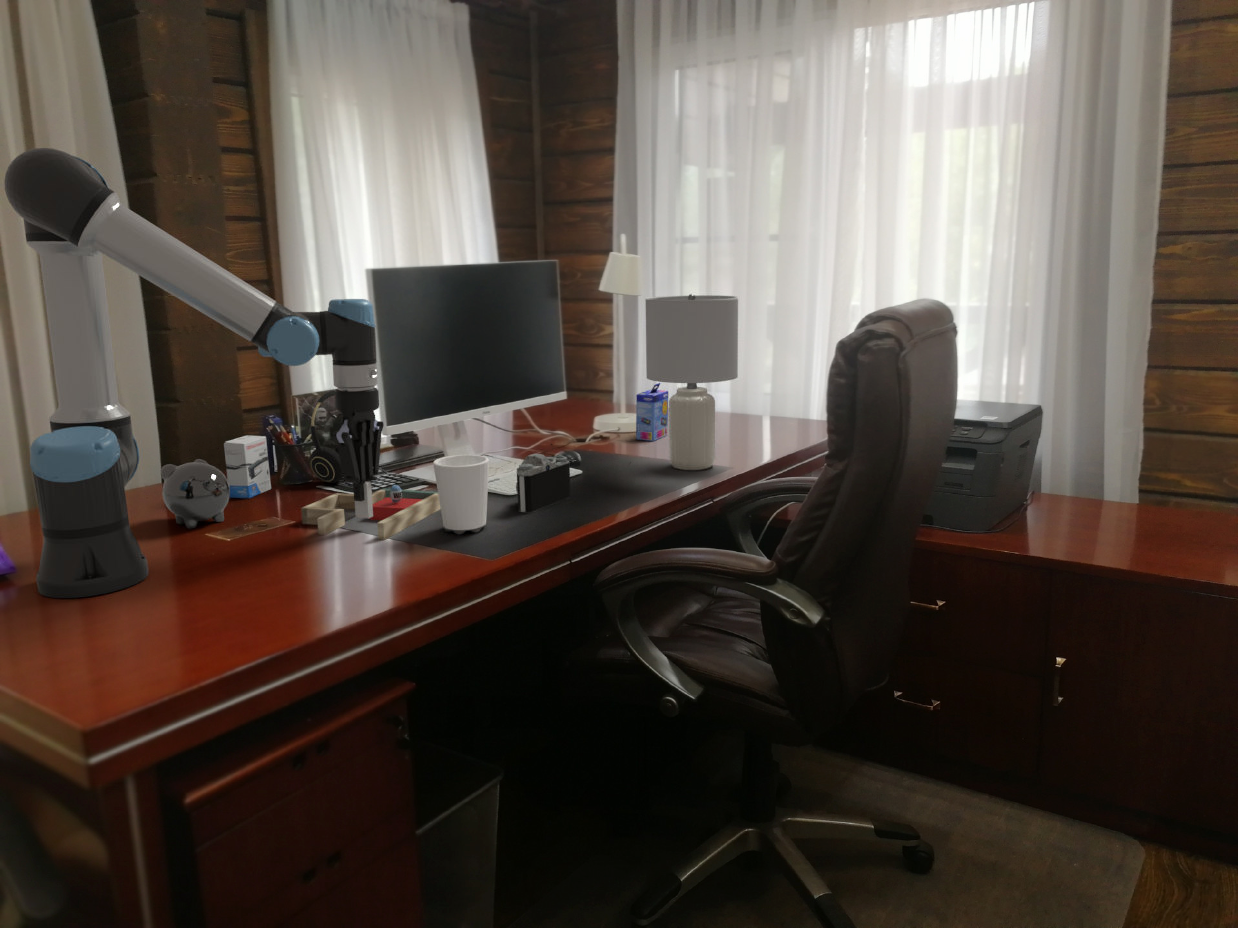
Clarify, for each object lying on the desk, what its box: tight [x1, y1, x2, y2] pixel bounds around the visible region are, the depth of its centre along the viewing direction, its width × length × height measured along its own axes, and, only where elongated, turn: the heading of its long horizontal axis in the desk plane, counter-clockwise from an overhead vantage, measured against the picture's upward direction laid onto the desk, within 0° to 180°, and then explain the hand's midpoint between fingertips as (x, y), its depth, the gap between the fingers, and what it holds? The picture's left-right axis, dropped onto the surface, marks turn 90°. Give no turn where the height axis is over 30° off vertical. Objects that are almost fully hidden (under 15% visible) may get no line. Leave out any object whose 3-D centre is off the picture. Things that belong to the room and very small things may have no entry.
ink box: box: [223, 435, 272, 499], centre depth 199 cm, size 8×5×12 cm, turn 168°
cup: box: [433, 454, 490, 535], centre depth 170 cm, size 10×10×13 cm
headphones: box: [309, 390, 344, 484], centre depth 208 cm, size 9×15×20 cm, turn 155°
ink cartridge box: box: [635, 382, 669, 442], centre depth 249 cm, size 10×6×14 cm, turn 154°
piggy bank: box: [160, 458, 230, 530], centre depth 178 cm, size 11×15×12 cm
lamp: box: [645, 293, 739, 471], centre depth 212 cm, size 20×20×39 cm
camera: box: [515, 453, 571, 513], centre depth 187 cm, size 15×7×10 cm, turn 147°
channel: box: [300, 488, 441, 541], centre depth 178 cm, size 22×21×3 cm
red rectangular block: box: [368, 484, 423, 521], centre depth 180 cm, size 8×7×6 cm
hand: (364, 516), depth 172 cm, fingers closed
